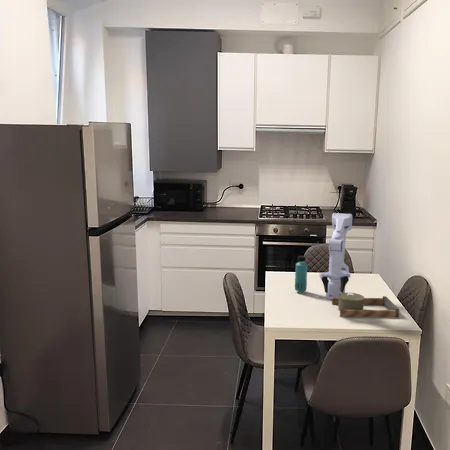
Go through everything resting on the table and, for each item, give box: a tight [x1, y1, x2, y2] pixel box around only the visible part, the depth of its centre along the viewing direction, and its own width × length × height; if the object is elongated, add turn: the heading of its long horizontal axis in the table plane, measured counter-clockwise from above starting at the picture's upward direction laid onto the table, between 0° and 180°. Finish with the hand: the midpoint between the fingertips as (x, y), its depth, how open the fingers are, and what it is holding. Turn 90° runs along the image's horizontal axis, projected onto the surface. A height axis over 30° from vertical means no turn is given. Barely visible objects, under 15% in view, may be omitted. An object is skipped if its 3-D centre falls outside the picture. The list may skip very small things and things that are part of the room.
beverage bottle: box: [294, 255, 308, 292], centre depth 242 cm, size 6×7×20 cm
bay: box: [331, 295, 400, 318], centre depth 218 cm, size 27×18×4 cm
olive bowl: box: [337, 292, 365, 312], centre depth 218 cm, size 12×12×7 cm
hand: (333, 292), depth 215 cm, fingers open, 7 cm apart
